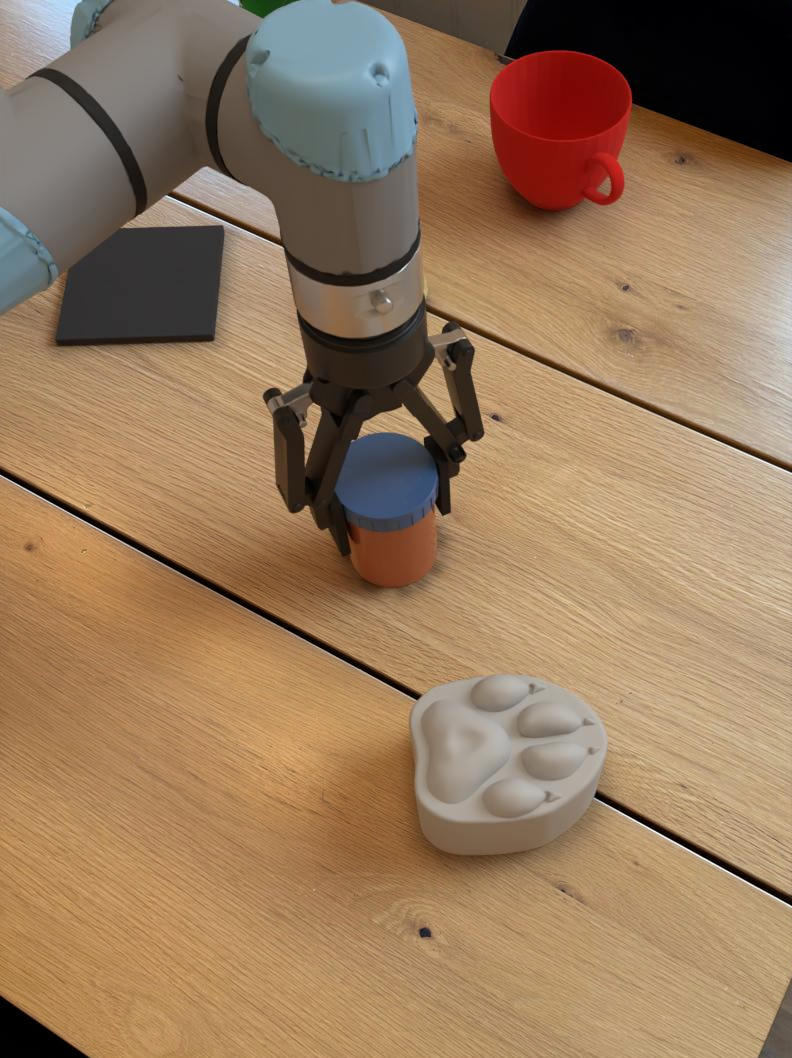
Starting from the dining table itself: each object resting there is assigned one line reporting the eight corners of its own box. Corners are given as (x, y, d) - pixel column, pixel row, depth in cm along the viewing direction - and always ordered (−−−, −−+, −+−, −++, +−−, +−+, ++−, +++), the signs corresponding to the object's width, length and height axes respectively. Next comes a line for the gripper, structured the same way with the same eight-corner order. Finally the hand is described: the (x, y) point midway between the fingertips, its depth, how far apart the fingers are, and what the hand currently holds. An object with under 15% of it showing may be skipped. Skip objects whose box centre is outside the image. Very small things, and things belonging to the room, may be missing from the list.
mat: (57, 345, 94) (54, 339, 94) (78, 235, 101) (75, 229, 100) (214, 340, 95) (212, 334, 94) (224, 231, 101) (223, 224, 100)
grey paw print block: (410, 724, 77) (403, 672, 70) (585, 706, 78) (597, 653, 70) (423, 862, 72) (416, 823, 65) (609, 842, 73) (624, 801, 65)
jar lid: (357, 549, 75) (355, 535, 73) (316, 469, 78) (313, 454, 76) (456, 509, 76) (456, 494, 75) (412, 432, 79) (410, 417, 78)
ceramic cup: (552, 277, 98) (559, 187, 90) (464, 170, 105) (463, 76, 96) (667, 230, 101) (685, 137, 92) (575, 128, 108) (583, 34, 99)
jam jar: (349, 589, 83) (334, 521, 74) (350, 515, 86) (336, 441, 77) (438, 585, 83) (433, 517, 74) (436, 512, 86) (431, 438, 78)
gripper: (213, 405, 57) (283, 611, 77) (547, 282, 61) (531, 508, 81) (168, 313, 60) (247, 534, 80) (489, 202, 64) (487, 439, 84)
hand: (390, 521), depth 81 cm, fingers closed on jar lid, 8 cm apart
